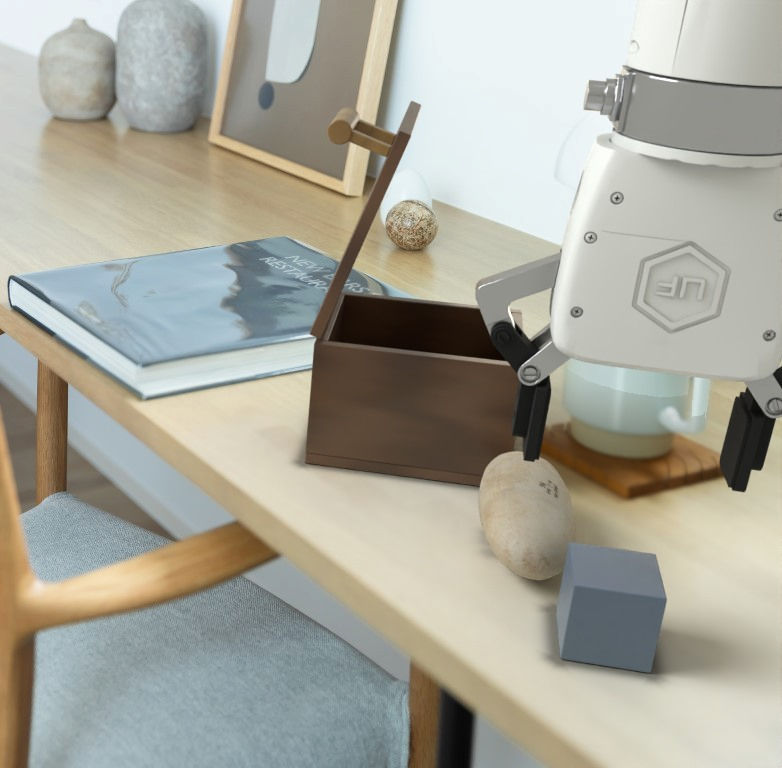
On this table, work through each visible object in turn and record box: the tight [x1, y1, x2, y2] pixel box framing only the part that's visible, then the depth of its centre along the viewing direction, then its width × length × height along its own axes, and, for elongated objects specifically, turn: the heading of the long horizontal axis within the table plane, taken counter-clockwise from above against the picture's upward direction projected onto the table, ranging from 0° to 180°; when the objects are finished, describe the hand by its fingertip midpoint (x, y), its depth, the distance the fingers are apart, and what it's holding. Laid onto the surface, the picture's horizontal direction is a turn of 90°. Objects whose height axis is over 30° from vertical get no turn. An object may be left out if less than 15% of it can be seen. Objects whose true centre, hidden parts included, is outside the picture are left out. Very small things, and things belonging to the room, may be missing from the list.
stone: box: [478, 450, 577, 581], centre depth 70 cm, size 6×6×12 cm
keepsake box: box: [304, 290, 525, 487], centre depth 82 cm, size 14×12×9 cm
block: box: [555, 542, 668, 674], centre depth 61 cm, size 4×4×4 cm
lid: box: [309, 100, 422, 339], centre depth 79 cm, size 14×12×5 cm
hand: (628, 464), depth 58 cm, fingers open, 9 cm apart
